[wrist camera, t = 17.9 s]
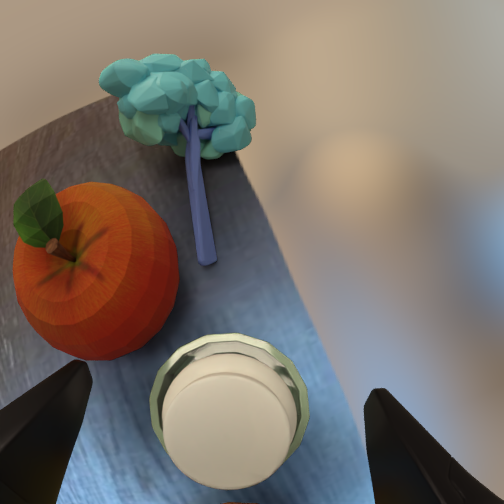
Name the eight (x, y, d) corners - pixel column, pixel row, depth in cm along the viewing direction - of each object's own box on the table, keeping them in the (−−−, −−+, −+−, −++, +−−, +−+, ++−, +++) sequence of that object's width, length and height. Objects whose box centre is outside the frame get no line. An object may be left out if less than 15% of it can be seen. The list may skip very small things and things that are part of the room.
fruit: (101, 389, 17) (2, 399, 8) (45, 271, 20) (-45, 214, 10) (221, 311, 19) (203, 262, 10) (147, 200, 22) (100, 101, 12)
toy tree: (178, 244, 29) (173, 86, 26) (264, 249, 24) (257, 61, 22) (75, 269, 19) (73, 61, 17) (161, 287, 15) (158, 6, 12)
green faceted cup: (312, 420, 18) (335, 437, 13) (206, 470, 16) (197, 501, 11) (257, 319, 20) (262, 306, 15) (151, 370, 18) (124, 372, 13)
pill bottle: (169, 392, 17) (106, 416, 8) (235, 337, 19) (230, 315, 10) (229, 456, 16) (221, 532, 7) (295, 401, 17) (347, 436, 8)
